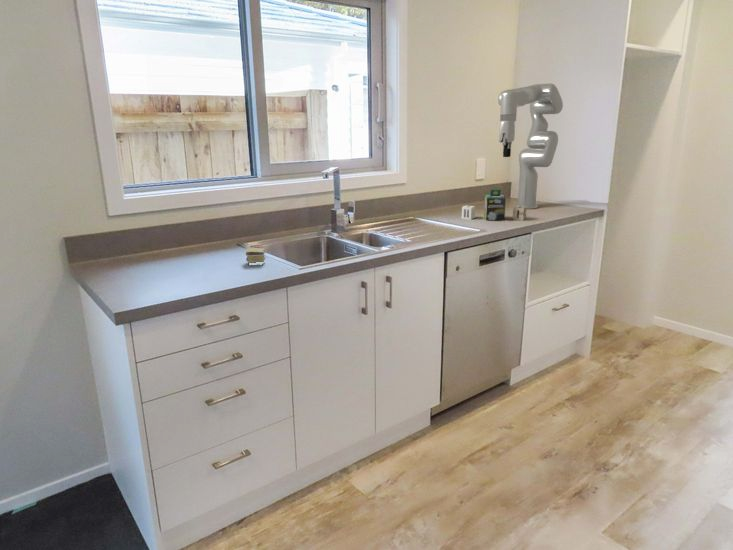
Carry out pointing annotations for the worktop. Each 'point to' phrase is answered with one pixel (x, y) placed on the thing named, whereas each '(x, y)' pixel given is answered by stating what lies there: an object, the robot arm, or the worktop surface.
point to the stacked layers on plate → (255, 255)
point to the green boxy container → (495, 206)
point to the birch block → (519, 213)
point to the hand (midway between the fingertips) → (506, 156)
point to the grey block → (468, 212)
